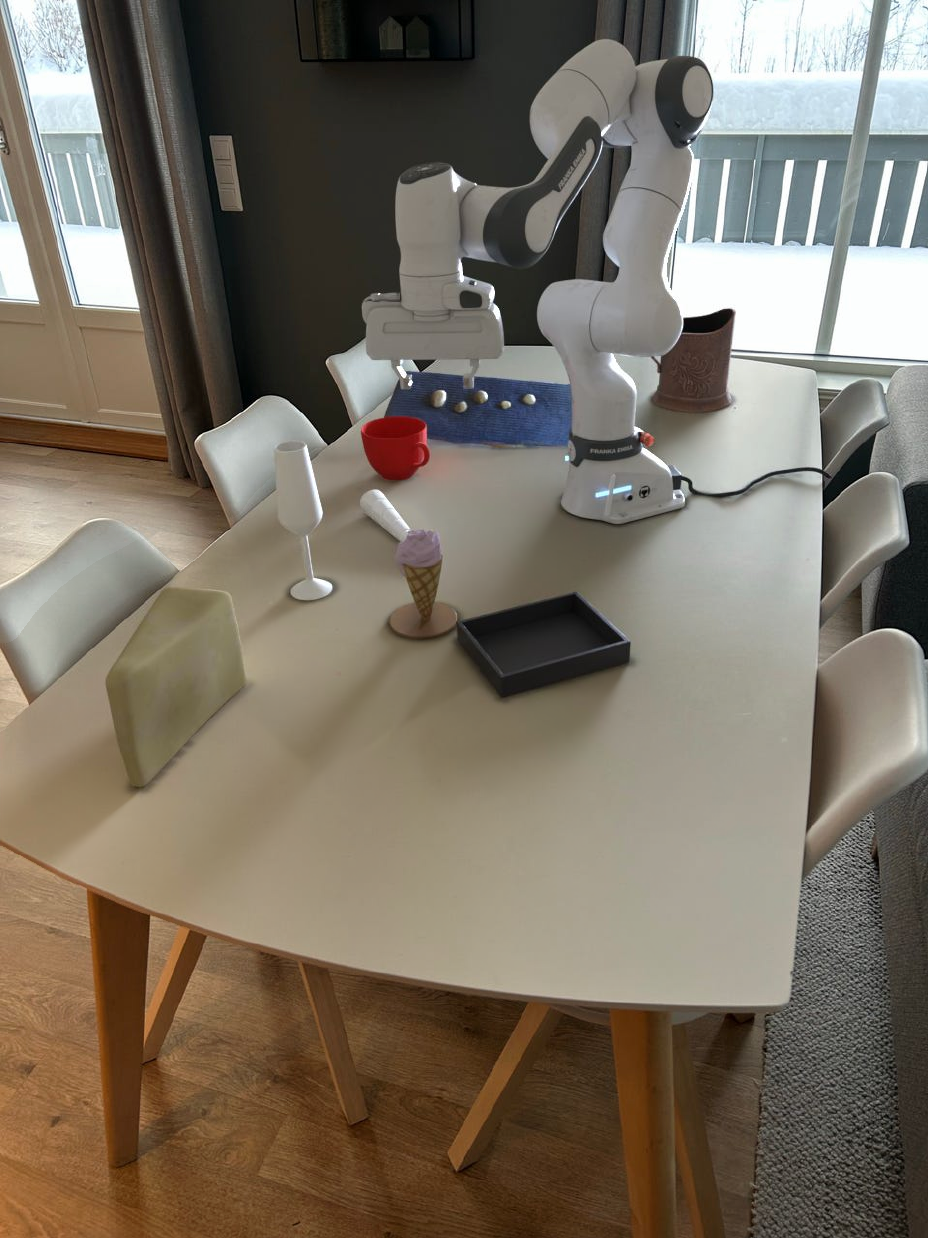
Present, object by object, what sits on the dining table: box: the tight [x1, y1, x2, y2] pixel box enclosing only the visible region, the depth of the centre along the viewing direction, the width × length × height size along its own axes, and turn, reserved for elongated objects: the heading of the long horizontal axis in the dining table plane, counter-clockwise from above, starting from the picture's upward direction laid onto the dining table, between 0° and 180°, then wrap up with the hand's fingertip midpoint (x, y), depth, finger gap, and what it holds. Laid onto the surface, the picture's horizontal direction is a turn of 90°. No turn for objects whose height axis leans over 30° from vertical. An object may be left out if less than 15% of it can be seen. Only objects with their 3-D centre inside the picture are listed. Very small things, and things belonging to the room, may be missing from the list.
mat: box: [383, 370, 572, 449], centre depth 205 cm, size 45×27×12 cm, turn 82°
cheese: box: [104, 586, 247, 788], centre depth 111 cm, size 22×10×15 cm, turn 168°
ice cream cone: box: [394, 528, 444, 620], centre depth 130 cm, size 7×6×15 cm
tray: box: [456, 590, 632, 699], centre depth 126 cm, size 19×15×3 cm
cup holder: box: [650, 307, 737, 413], centre depth 209 cm, size 18×24×25 cm
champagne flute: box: [273, 440, 333, 601], centre depth 138 cm, size 7×7×24 cm
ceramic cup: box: [360, 416, 431, 482], centre depth 179 cm, size 13×17×10 cm
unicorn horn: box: [359, 489, 411, 542], centre depth 158 cm, size 5×24×5 cm, turn 25°
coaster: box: [389, 601, 458, 640], centre depth 134 cm, size 10×10×1 cm
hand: (437, 387), depth 136 cm, fingers open, 8 cm apart
